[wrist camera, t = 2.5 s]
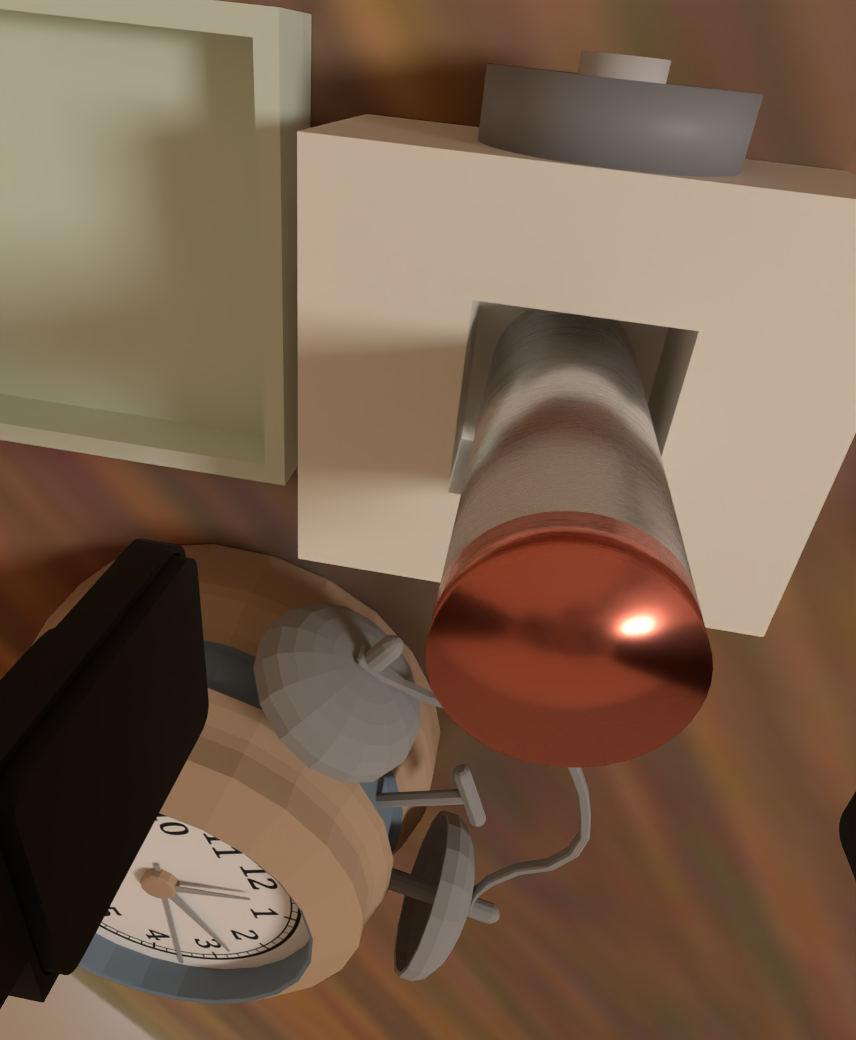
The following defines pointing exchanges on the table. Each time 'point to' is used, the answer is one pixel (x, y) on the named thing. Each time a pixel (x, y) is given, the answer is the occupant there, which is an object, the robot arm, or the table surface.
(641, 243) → the block
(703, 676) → the pin
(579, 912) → the table surface
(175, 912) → the alarm clock
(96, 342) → the tray
